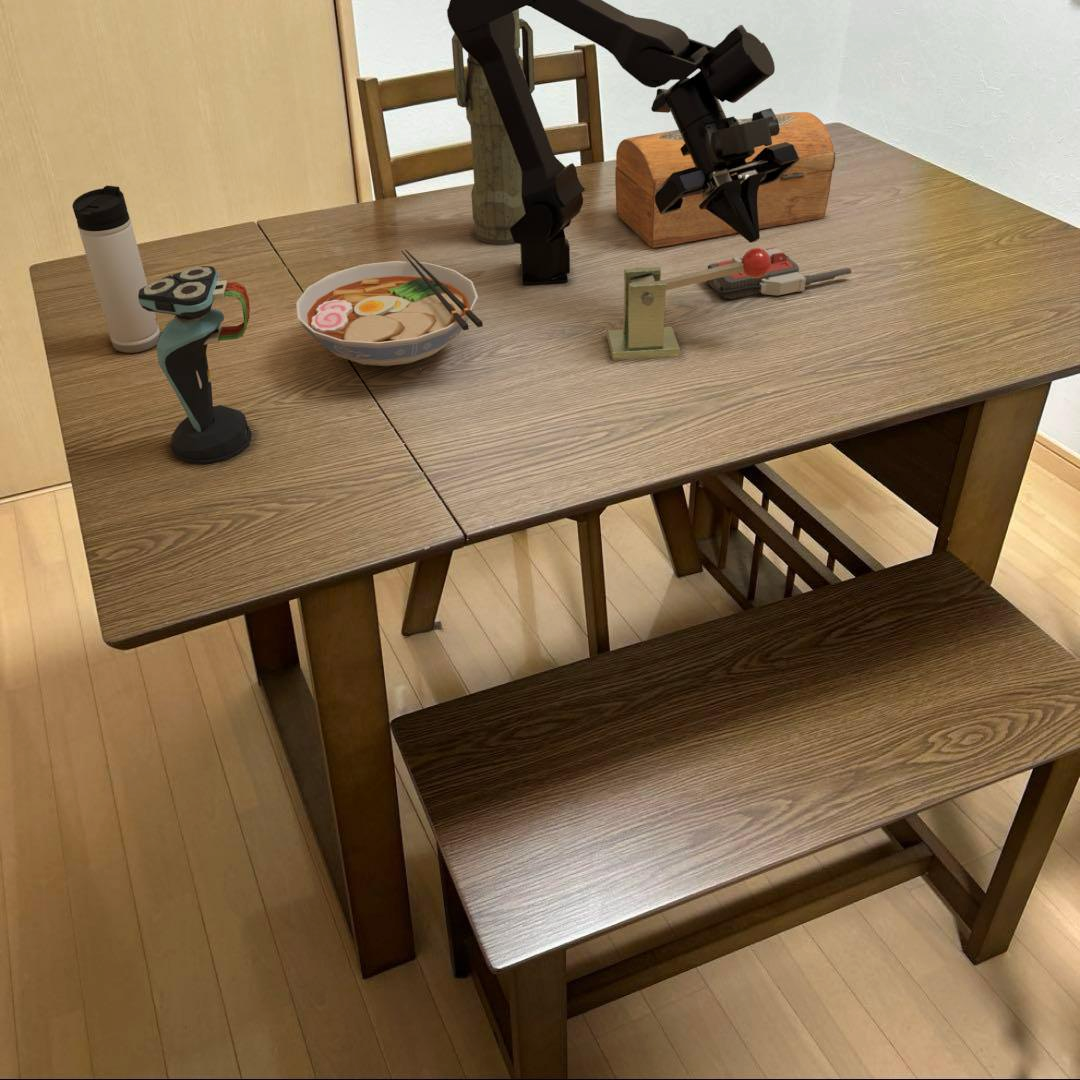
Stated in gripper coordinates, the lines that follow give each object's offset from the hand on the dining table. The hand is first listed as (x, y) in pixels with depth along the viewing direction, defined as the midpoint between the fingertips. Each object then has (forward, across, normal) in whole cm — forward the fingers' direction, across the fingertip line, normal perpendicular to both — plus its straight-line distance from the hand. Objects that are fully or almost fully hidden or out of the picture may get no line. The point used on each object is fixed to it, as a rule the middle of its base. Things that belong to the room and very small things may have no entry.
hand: (755, 240), depth 137 cm
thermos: (-24, -8, +43) cm, 50 cm away
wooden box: (-14, +23, +33) cm, 43 cm away
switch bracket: (+5, -12, +14) cm, 19 cm away
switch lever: (+2, -6, +6) cm, 8 cm away
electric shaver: (-2, -65, +21) cm, 68 cm away
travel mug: (-23, -66, +42) cm, 81 cm away
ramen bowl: (-7, -39, +26) cm, 48 cm away
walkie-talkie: (+2, +14, +17) cm, 22 cm away
